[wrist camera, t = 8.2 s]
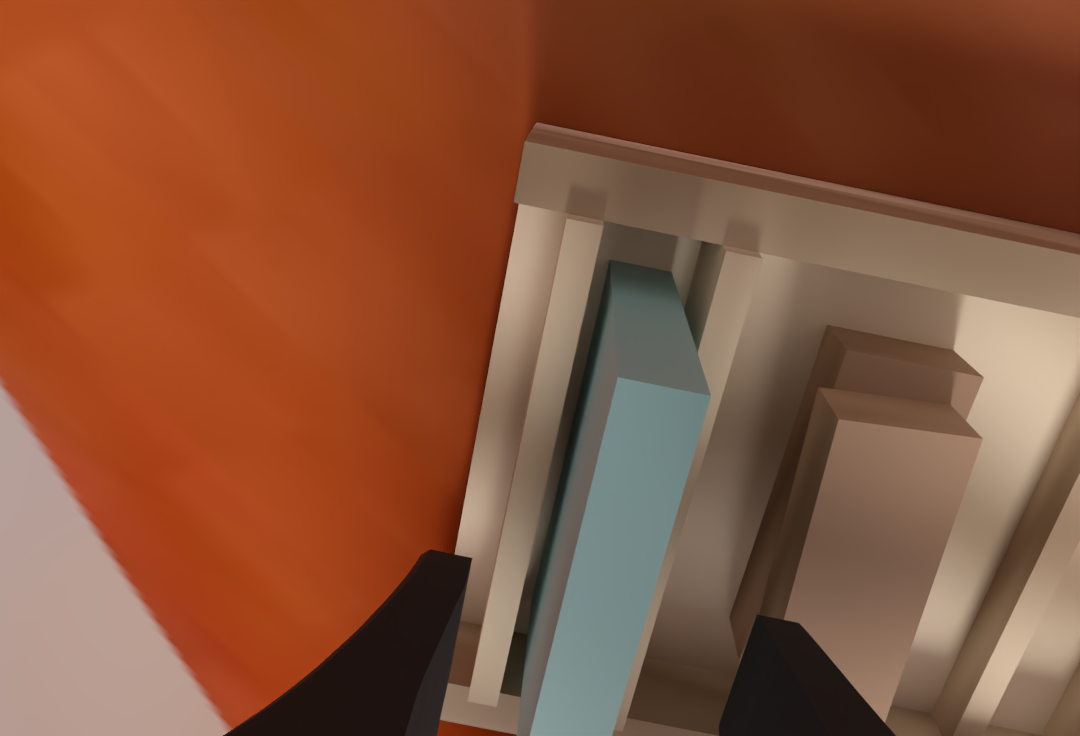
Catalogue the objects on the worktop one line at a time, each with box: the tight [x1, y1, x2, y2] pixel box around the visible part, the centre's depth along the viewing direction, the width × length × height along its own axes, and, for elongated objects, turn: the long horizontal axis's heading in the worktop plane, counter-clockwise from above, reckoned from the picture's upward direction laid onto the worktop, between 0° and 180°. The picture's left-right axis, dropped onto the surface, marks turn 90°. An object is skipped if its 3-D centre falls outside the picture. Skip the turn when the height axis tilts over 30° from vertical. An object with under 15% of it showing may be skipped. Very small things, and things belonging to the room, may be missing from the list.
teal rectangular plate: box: [517, 259, 711, 736], centre depth 15 cm, size 8×1×6 cm, turn 169°
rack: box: [440, 122, 1080, 736], centre depth 17 cm, size 12×16×3 cm
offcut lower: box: [729, 325, 984, 660], centre depth 17 cm, size 7×2×1 cm, turn 169°
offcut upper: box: [759, 387, 983, 723], centre depth 16 cm, size 6×2×1 cm, turn 173°
